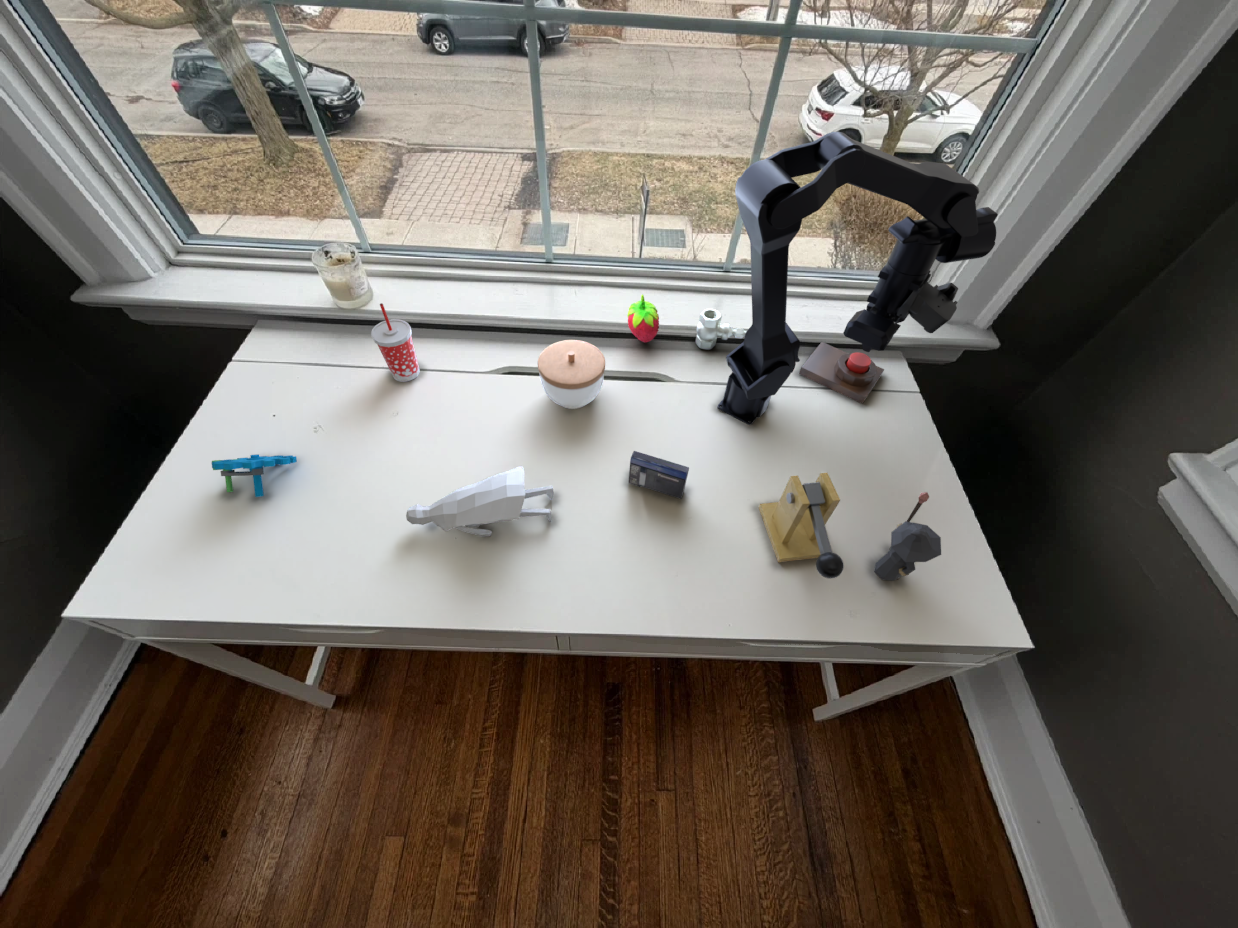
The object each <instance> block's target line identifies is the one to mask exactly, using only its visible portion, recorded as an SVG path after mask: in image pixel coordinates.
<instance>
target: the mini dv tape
mask: <svg viewBox="0 0 1238 928" xmlns="http://www.w3.org/2000/svg"><path fill="white" fill-rule="evenodd" d="M689 471H690V467H689V466H686V465H682V464H679V463H676V462H672V461H670V460H666V459H663V458H659V457H656V456H652V455H650V454H646V453H643V452H640V451H636V450H633V452H632V454H631V456H630V461H629V471H628V484H629V485H632V486H636V487H638V488H641V487H642V488H645V489H649V490H652V491H655V492H658V493H661V494H664V495H666V496H671V497H674V498H677V499H680V500H682V499H683V495H684V492H685V490H686V485H687V479H688V475H689Z"/></svg>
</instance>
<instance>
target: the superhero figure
mask: <svg viewBox="0 0 1238 928" xmlns="http://www.w3.org/2000/svg"><path fill="white" fill-rule="evenodd" d="M525 487H526V486H525V469H524V467H523V466H522V465H520V466H516V467H514V468H511V469H509V470H506V471H503V472H500V473H497V474H493V475H491V476H489V477H486V478H483V479H482V480H480V481H478V482H474V483H472V484H468V485H465V486H462V487H459V488H457V489H455V490H453V491H452V492H450V493H448V494H447V495H444V496H443V497H442V498H440V499H439V500H437V501H435V502H433V503H432V504H430V505H422V504H420V503H416V504H414V505H411V506H409V508H408V509H407V510H406V513H405V518H406V521H407V522H409V523H410V524H411V525H419V526H424V525H427V524H430V523H433V524H434V525H436V526H437V527H438V528H440V529H442V530H443V531H445V532H448V531H450V530H452V529H457V530H459V531H461V532H464V533H468V534H472V535H476V536H479V537H491V536H492V533H493V532H492V530H491V529H484V528H479V527H480V526H481V525H488V524H494V523H502V522H507V521H508V522H509V521H513V520H519V519H520V518H525V517H526V518H527V517H543V516H545V517H546V518H547V520H548V522H549V523H551V522H552V511H551V508H523V505H524V503H525V500H526V499H530V498H533V497H534V498H535V497H539V496H542V495H546V496H547V497H548V499H549V500H550V501H552V500H553V499H554V486H553V485H547V486H541V487H534V488H527V489H526V488H525Z"/></svg>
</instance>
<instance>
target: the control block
mask: <svg viewBox="0 0 1238 928" xmlns="http://www.w3.org/2000/svg"><path fill="white" fill-rule="evenodd" d="M852 353H853V352H846V351H844V350H842V349H840V348H837V347H835V346H832V345H830V344H828V343H826V342H824V341H821V342H820V344H819V345H817V347H816V348H815V349H814V350H813V352H812V353H811V354H810V356H809V357H808V358H807V359H806V360H805V362H804V363H803V364H802V365H801V367H800V369H799V372H798V375H800V376H802V377H804V378H806V379H809V380H811V381H813V382H814V383H817V384H819V385H821V386H823V387H825V388H828V389H829V390H832V391H834V392H836V393H838V394H840V395H842V396H844V397H847V398H848V399H851V400H853V401H855V402H857V403H859V404H861V405H863V404H864V402H865V401H866V399H867V398H868V396H869V395H870V393H871V391H872V390H874V387H875V386H876V384H878V383H877V382H878V381H879V380H880V378H881V377H882V375H883V373H884V371H885V369H884V368H882V367H880V366H878V365H876V363H875V362H874V361H873V360H872V359H871V364H870V366H869V368H868V370H867V371H866V372H865V373H862V374H859V373H854V372H852V371H850V370H849V369H848V368H847V366H846V363H847V361H848V359H849V357H850V355H851V354H852Z"/></svg>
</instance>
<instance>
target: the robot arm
mask: <svg viewBox="0 0 1238 928" xmlns="http://www.w3.org/2000/svg"><path fill="white" fill-rule="evenodd" d="M817 172H819V173H818V174H817V175H816V177H815V178H814V179H813V180H812V181H810V182H808V183H806V184H804V185H803V186H800V184H798V183H797V181H796V180H794V178H797V177H801V176H806V175H810V174H814V173H817ZM847 184H848V185H851V186H854V187H857V188H860V189H862V190H866V191H868V192H871V193H873V194H875V195H879V196H882V197H885V198H888V199H890V200H893V201H896V202H899V203H902V204H904V205H907V206H908V207H909V208H911V209H912V210H914V211H915V212H916V213H917V214H919V215H920V216H921V217H923V218H922V219H913V218H911V217H910V216H909V215H908V216H907V215H906V217H905V218H903V219H902V220H900V221H897V222H894V223H893V224H891V226H889V227H888V232H889V233H890V234H891V235H892V236H893V237H894V238H895V239H896V241H895V244H894V246H893V248H892V250H891V252H890V254H889V256H888V259H887V261H886V263H885V265H883V267H882V268H881V269H880V271H879V272H878V275H877V278H878V281H877V283H876V285H875V287H874V289H873V290H872V292H870V294H869V295H868V297H867V299H866V302H867V305H866V309H865V308H864V309H861V310H859V311H856V312H855V313H854V314H853V316H852V317H851V318H850V319H849V320H848V322H847V324H846V326H845V328H844V330H843V335H844V337H846V338H848V339H850V340H852V341H855V342H857V343H860V344H861V346H862V349H861V350H862V351H864V352H866V353H869V352H871V350H875V351H878V352H880V351H881V352H882V351H885V349H887V347H888V345H889V343H890V342H891V340H892V339H893V338H894V335H895V334H896V333H897V332H898V330H899V329H900V328H901V326H902V325H901V324H900V323H902V322H905V321H906V319H907V318H908V316H910V317H911V318H912V319H913V320H914V321H915V322H916V323H918V324H919V325H920V326H921V327H922V328H923V330H924V332H926V333H929V334H933V333H935V332H936V331H937V330H939V329H940V328H941V327H943V325H945V324H946V323H948V322H949V321H950V320H951V319H952V317H953V316H954V314H955V313H956V311H957V308H958V307H957V304H958V301H957V300H955V297H956V295H957V293H958V290H959V287H958V286H957V285H956V284H955V283H953V282H947V283H943V284H940V285H938V284H936V285H932V284H930V282H928V281H929V280H930V278H931V275H932V274H931V269H932V267H933V265H934V263H935V261H937V262H939V263H941V264H949V263H954V262H955V263H956V262H962V261H963V262H964V261H969V260H975V259H980V258H984V257H986V256H987V255H988V254H989V253H990V252H991V251H992V250H993V249H994V247H995V246H996V239H997V227H996V223H995V220H996V219H997V217H998V215H999V214H998V213H997V212H996V210H994V209H992V208H991V207H989V206H984V207H980V208H978V209H977V204H976V200H977V199H978V195H979V194H980V188H979V187H978V186H977V185H976V184H975V183H973V182H972V181H970V180H969V179H967V177H965V176H964V175H962V174H961V173H959V172H957V171H956V170H955V169H953V168H952V167H951V166H949V165H948V164H946V163H943V162H937V161H936V162H935V161H923V162H920V163H915V162H910V161H907V160H904V159H902V158H900V157H897V156H895V155H892V154H891V153H887V152H885V151H882V150H880V149H877V148H875V147H873V146H870V145H868V144H865V143H863V142H860V141H858V140H855V139H853V138H851V137H850V136H848V135H847V134H846V133H844V132H842V131H831V132H828V133H825V134H824V135H822V136H821V137H819V138H817V139H816V140H814V141H811V142H807V143H801V144H799V145H795V146H791V147H787V148H786V147H785V148H783V149H780V150H778V151H776V152H775V153H773V154H772V155H770V156H768V157H766V158H764V159H760V160H757V161H755V162H753V163H751V164H750V165H749V166H748V167H747V168H746V169H745V170H744V171H743V173H742V175H741V176H739V177H738V178H737V181H736V184H735V190H734V193H735V198H736V202H737V207H738V212H739V216H740V219H741V221H742V223H743V226H744V229H745V231H746V234H747V236H748V239H749V247H750V279H751V283H750V285H751V319H752V320H751V321H752V323H751V325H750V327H749V328H748V329H747V330H746V331H747V332H746V333H745V337H744V339H743V342H741V343H740V344H739V345H738V346H737V347H735V348H734V349H733V350H732V351H730V352H729V353H728V354H727V355H726V356H725V360H726V364H727V367H728V368H730V371H731V373H730V374H729V375H728V379H727V383H726V387H725V390H724V394H723V397H722V400H721V401H720V402H719V403H718V404H717V410H719V411H721V412H723V413H724V414H726V415H728V416H731V417H733V418H735V419H736V420H738V421H740V422H742V423H744V424H746V425H749V426H751V425H753V424H754V422H755V421H756V420H757V419H759V418H761V417H762V416H763V415H764V413H766V411H767V409H768V406H769V403H770V400H771V399H772V398H771V397H772V396H775V395H776V394H777V393H778V392H779V390H780V389H781V387H782V386H783V385H784V384H785V382H786V381H787V380H788V378H790V376H791V374H792V373H793V372H794V370H795V368H796V363H799V362H800V361H801V359H800V358H799V352H800V348H801V341H800V339H799V338H798V336H797V335H796V333H795V332H794V331H793V330H792V329H791V327H790V325H789V324H788V323H787V301H788V299H787V298H788V275H789V274H788V272H789V251H790V250H789V248H790V244H791V242H792V241H793V240H794V238H795V237H796V236H797V235H798V233H799V232H800V230H801V227H802V222H803V220H804V219H805V218H807V217H808V216H810V215H813V214H814V213H816V212H818V211H819V210H821V208H822V207H823V206H824V205H825V204H826V203H827V202H828V200H829V199H830V198H831V196H832V195H833V194H834V193H835V192H836V190H837V189H839V188H840V187H842V186H845V185H847Z"/></svg>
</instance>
